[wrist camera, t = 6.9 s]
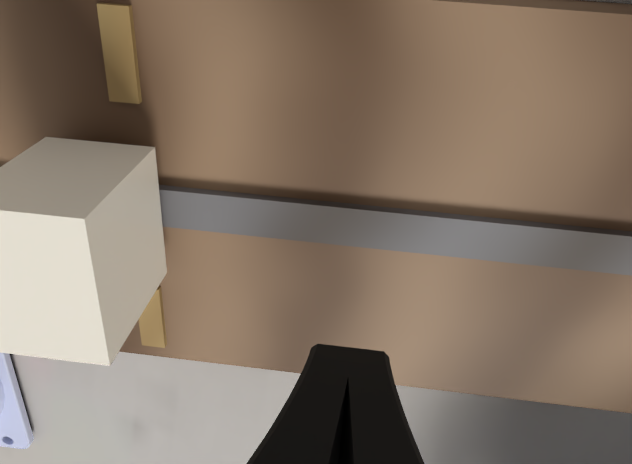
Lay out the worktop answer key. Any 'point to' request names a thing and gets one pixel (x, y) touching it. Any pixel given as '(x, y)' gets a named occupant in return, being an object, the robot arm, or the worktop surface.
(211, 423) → the worktop surface
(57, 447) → the worktop surface
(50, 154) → the fader tab
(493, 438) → the worktop surface
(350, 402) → the robot arm
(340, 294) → the fader console
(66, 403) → the worktop surface
